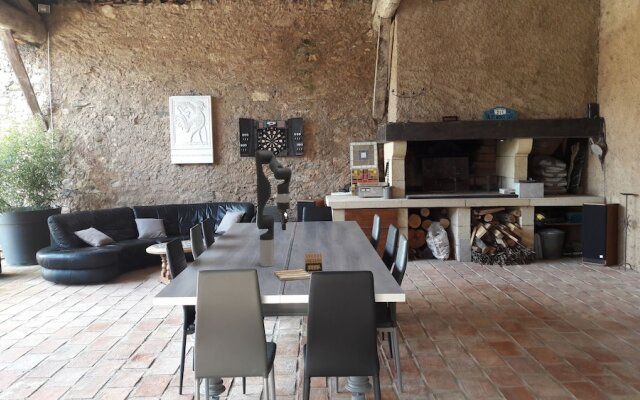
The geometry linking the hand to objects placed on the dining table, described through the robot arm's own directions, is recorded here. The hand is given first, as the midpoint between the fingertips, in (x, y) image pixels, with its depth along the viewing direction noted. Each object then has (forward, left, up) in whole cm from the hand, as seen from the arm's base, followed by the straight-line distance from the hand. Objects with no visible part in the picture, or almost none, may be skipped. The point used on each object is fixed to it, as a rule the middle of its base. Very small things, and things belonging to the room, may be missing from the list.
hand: (283, 230), depth 302 cm
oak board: (+1, +3, -27) cm, 27 cm away
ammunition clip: (-2, +19, -27) cm, 33 cm away
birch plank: (+11, +3, -27) cm, 29 cm away
